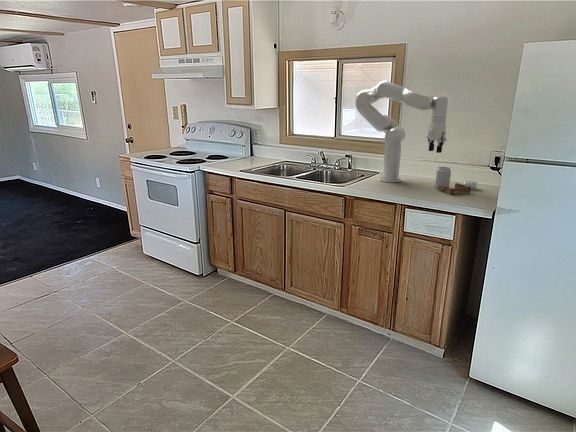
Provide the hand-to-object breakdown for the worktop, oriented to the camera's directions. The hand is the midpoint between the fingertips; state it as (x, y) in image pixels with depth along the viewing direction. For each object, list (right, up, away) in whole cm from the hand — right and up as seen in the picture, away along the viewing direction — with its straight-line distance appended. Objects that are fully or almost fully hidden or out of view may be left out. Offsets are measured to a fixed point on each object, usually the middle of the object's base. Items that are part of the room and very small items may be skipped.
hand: (434, 151), depth 225 cm
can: (+3, -21, -2) cm, 22 cm away
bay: (+6, -24, -10) cm, 27 cm away
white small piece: (+18, -22, -4) cm, 28 cm away
